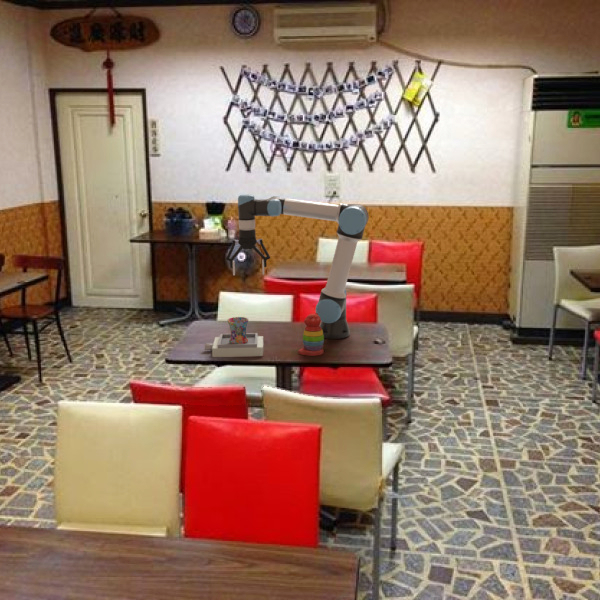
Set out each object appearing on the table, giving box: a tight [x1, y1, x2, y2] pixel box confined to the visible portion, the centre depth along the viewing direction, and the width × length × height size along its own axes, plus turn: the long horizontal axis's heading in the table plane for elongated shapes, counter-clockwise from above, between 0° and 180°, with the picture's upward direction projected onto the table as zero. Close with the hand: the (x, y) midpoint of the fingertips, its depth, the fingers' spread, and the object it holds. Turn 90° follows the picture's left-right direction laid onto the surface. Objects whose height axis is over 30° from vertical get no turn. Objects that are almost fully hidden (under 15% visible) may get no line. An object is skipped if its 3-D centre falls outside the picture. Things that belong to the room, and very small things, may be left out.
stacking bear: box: [297, 312, 325, 356], centre depth 294 cm, size 11×10×18 cm
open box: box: [204, 332, 264, 358], centre depth 299 cm, size 26×17×6 cm, turn 93°
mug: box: [227, 316, 249, 344], centre depth 298 cm, size 12×9×11 cm
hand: (248, 274), depth 310 cm, fingers open, 13 cm apart
